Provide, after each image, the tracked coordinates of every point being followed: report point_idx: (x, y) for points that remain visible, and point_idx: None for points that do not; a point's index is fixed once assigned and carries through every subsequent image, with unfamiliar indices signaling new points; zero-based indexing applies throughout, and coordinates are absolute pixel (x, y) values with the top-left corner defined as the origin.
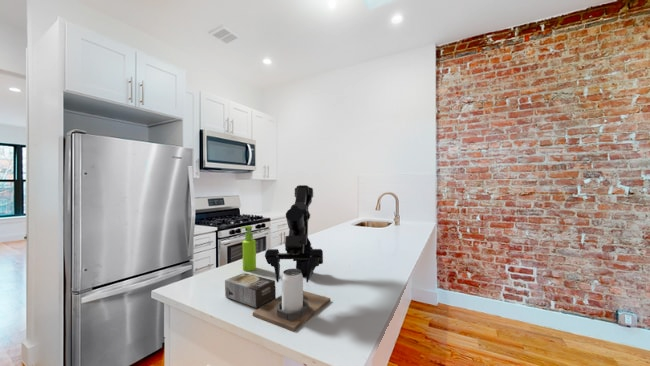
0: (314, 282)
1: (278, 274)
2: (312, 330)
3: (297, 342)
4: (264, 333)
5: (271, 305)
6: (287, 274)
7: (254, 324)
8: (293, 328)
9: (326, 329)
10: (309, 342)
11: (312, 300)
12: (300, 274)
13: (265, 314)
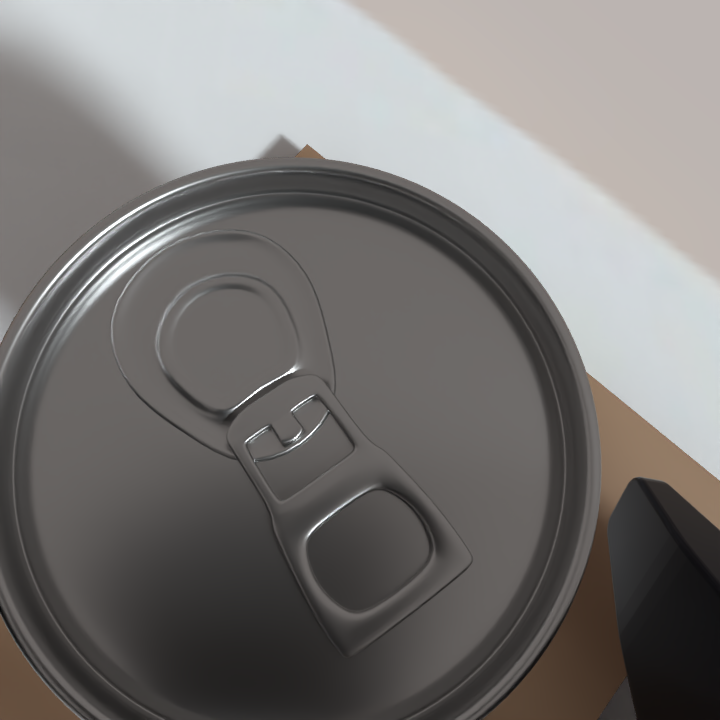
0: None
1: (700, 605)
2: (140, 144)
3: (285, 21)
4: (557, 184)
5: (558, 634)
6: (451, 322)
7: (669, 336)
8: (310, 152)
9: (8, 134)
10: (190, 2)
11: (25, 691)
12: (48, 321)
13: (599, 430)
